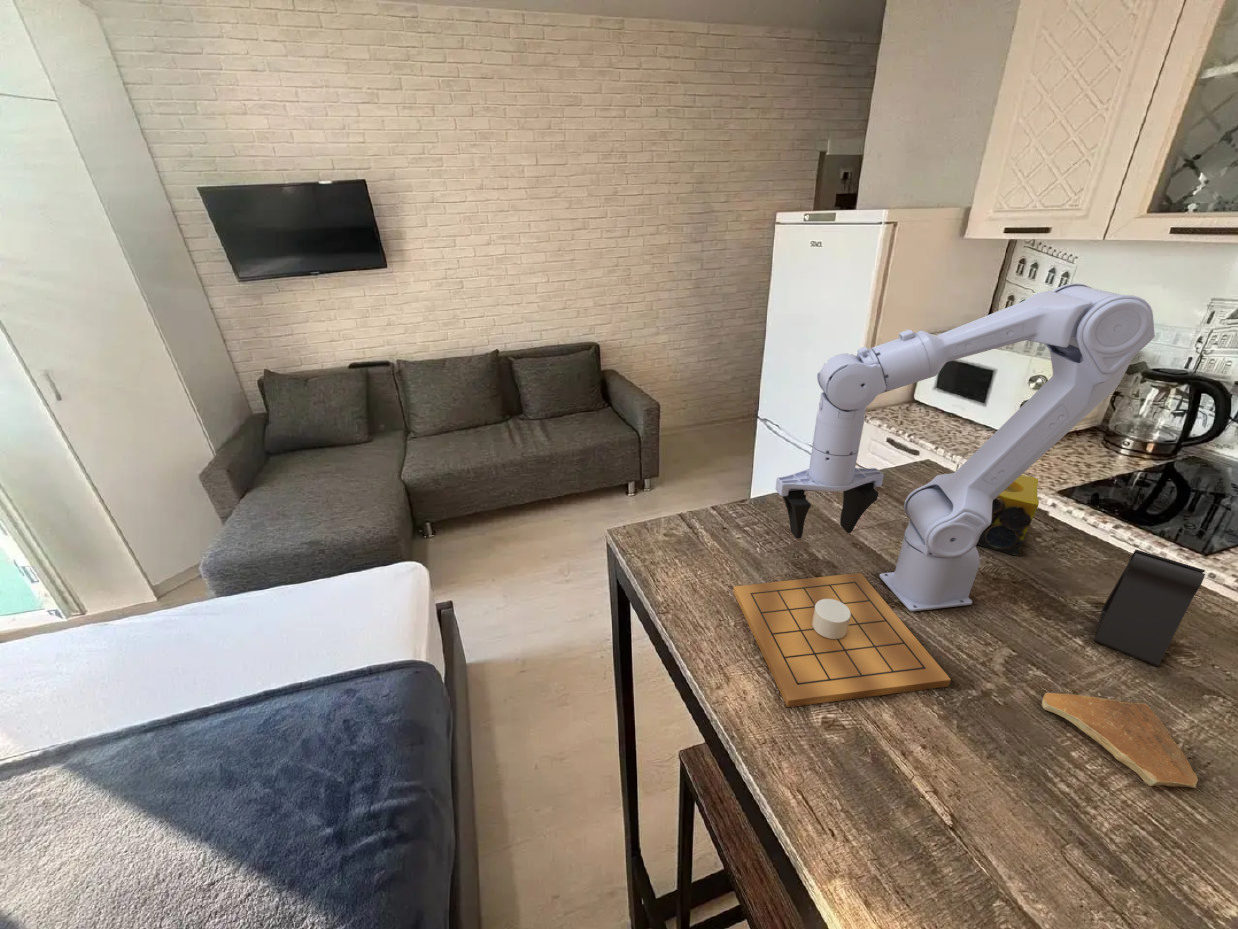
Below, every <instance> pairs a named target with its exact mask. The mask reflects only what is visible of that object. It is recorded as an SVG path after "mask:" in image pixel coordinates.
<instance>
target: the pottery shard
mask: <svg viewBox="0 0 1238 929" xmlns="http://www.w3.org/2000/svg"><path fill="white" fill-rule="evenodd" d="M1041 707H1042V709H1043V710H1044V711H1048V712H1050V713H1053V714H1055V715H1057V716H1059V717H1062V718H1064V719H1065V720H1067V721H1068V722H1070V723H1072V724H1073V726H1076V727H1077V728H1078V729H1079V730H1080V731H1082V732H1083V733H1084V734H1086V735H1087V736H1088V737H1090V738H1091V739H1092V740H1094V741H1095V742H1097V743H1098V744H1099V745H1101V747H1103V748H1104V749H1105V750H1106V751H1107V752H1109V753H1110V754H1111V755H1112V756H1113V757H1114V759H1116V760H1117V761H1118V762H1120V763H1122V764H1124V765H1125V766H1126V767H1128V768H1129V769H1130V770H1132V771H1133V772H1135V774H1137V775H1138V776H1139V778H1141V780H1143V782H1144V783H1145V784H1147V785H1148V786H1149V787H1155V786H1166V787H1184V788H1185V787H1186V788H1192V789H1196V788H1197V783H1198V781H1199V778H1198V776H1197V774H1196V773H1195V772H1194V770H1193V769H1192V765H1191V763H1190V762H1189V760H1188V758H1187V757H1186V755H1185V754H1184V753H1183V751H1182V749H1181V747H1180V746H1179V745H1178V743H1176V742H1175V740H1174V739H1173V738H1172V736H1171V734H1170V731H1169V730H1168V728H1167V727H1166V726H1165V725H1164V724H1163V722H1162V721H1161V720H1160V718H1159V717H1158V716H1157V715H1156V714H1155V712H1154V711H1153V710H1152V708H1150V706H1149V705H1148V704H1147V703H1142V702H1126V701H1125V702H1124V701H1119V700H1116V699H1109V698H1102V697H1097V696H1088V695H1081V694H1069V693H1059V692H1058V693H1057V692H1045V693H1044V695H1043V696H1042V702H1041Z"/></svg>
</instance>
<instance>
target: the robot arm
mask: <svg viewBox="0 0 1238 929" xmlns="http://www.w3.org/2000/svg"><path fill="white" fill-rule="evenodd" d="M1153 312H1154V311H1153V308H1152V307H1151V305H1150V303H1149V302H1147V300H1145V299H1144V298H1142V297H1140V296H1137V295H1131V294H1121V293H1115V292H1110V291H1106V290H1102V289H1098V288H1094V287H1091V286H1089V285H1086V284H1082V283H1067V284H1064V285H1060V286H1058V287H1056V288H1054V289H1053V290H1046V291H1039V292H1037V293H1035V294H1032V295H1031V296H1030V297H1028V298H1026V299H1025V300H1022V301H1020V302H1018V303H1016V304H1013V305H1010V306H1008V307H1005V308H1003V309H1000V310H997V311H995V312H993V313H990V314H987V315H985V316H983V317H979V318H977V319H975V320H972V321H970V322H968V323H964V324H963V325H960V326H957V327H955V328H952V329H950V330H947V331H945V332H942V333H939V334H936V335H935V334H932V333H930V332H927V331H925V330H919V331H916V332H914V331H913V330H911V329H906V330H903V331H901V332H899V333H898V338H896V339H895V338H894V339H893V340H890V341H887V342H884V343H882V344H878V345H875V346H872V347H870V348H868V347H867V346H862V347H860V348H858V349H857V351H856V352H857V353H856V354H854V353H853V354H852V353H851V354H850V353H846V352H845V353H840V354H836V355H834V356H832V357H830V358H829V359H827V362H826V363H825V362H824V363H823V365H822V367H821V368H820V370H819V372H817V375H816V379H817V383H818V386H819V388H820V389H821V390H822V392H821V393H820V399H819V403H818V410H817V413H816V418H815V425H814V430H813V438H812V439H813V440H812V446H811V454H810V460H809V466H808V469H804V470H802V471H798V472H795V473H792V474H789V475H785V476H780V477H779V476H778V477H776V480H775V481H776V482H775V491H776V492H777V493H778V495H779V496H780V497H782V499H783V501H784V505H785V507H786V510H787V515H788V519H789V527H790V528H789V530H790V532H791V534H792V535H793V536H794V538H795V539H797V540H799V539H802V536H803V534H804V527H805V521H806V517H807V515H808V513H809V510H810V508H811V506H812V504H811V503H810V501H808V500H807V494H805V492H814V491H819V492H833V493H834V492H835V493H838V492H839V493H840V492H842V493H843V494H842V496H843V498H842V507H841V513H840V518H839V519H840V522H839V526H840V527H841V528H842V529H843V530H844V532H846V534H851V533H852V532H853V531H854V529H855V527H856V525H857V524H858V522H859V520H860V518H861V517H862V515H863V514H864V513H865V511H867V509H868V508H870V506H872V504H874V503H875V502H876V501H877V500H878V499H879V492H878V491H877V490H876V489H875V488H881V487H882V486H883V482H884V477H885V473H884V472H882V471H881V470H879V469H878V468H877V467H871V468H866V467H865V468H864V467H863V468H862V467H857V461H858V456H859V451H860V445H861V440H862V436H863V430H864V425H865V420H866V418H865V417H866V416H865V415H866V412H867V411H866V410H867V407H868V406H869V405H871V404H872V402H874V400H875V399H876V398H877V397H878V396H879V395H882V394H884V393H887V392H890V391H893V390H896V389H897V390H898V389H900V388H903V387H906V386H909V385H913V384H916V383H918V382H921V381H925V380H927V379H931V378H935V377H936V376H938V374H939V373H940V372H941V371H942V369H943V367H944V366H945V365H946V363H948V362H949V363H950V362H952V361H956V360H959V359H963V358H967V357H970V356H974V355H977V354H981V353H985V352H988V351H992V350H994V349H998V348H1002V347H1006V346H1009V345H1013V344H1017V343H1020V342H1024V341H1029V342H1034V343H1039V344H1045V346H1046V348H1047V349H1048V351H1049V355H1050V363H1051V369H1052V376H1051V377H1050V378H1049V379H1048V380H1047V381H1046V382H1045V383H1044V384H1043V385H1042V386H1041V387H1039V389H1038V390H1037V391H1035V393H1034V394H1032V395H1031V397H1029V399H1028V400H1027V401H1025V403H1023V405H1022V406H1020V407H1019V408H1018V410H1016V412H1014V413H1013V415H1012V416H1011V417H1009V418H1008V419H1007V420H1006V421H1005V422H1004V423H1003V424H1002V425H1001V426H1000V427H999V429H996V431H995V432H994V433H993V434H992V435H991V436H990V437H988V439H987V440H986V441H985V442H984V443H983V444H982V445H981V446H980V447H979V448H978V449H977V450H976V451H975V452H974V453H973V454H972V455H971V456H970V457H969V458H968V459H967V460H966V461H965V462H964V463H963V464H962V465H961V466H959V468H958V469H957V470H956V471H954V472H951V473H943V474H937V475H935V477H933V478H932V479H931V480H930V481H929V482H927V483H926V484H924V485H922V486H919V487H917V488H915V489H914V490H912V491H911V492H910V493H909V494H908V495H907V496H906V498H905V500H904V504H903V509H904V513H905V514H906V516H907V517H908V518H909V520H908V523H907V527H906V529H905V531H904V535H903V537H902V538H903V539H902V542H901V546H900V550H899V554H898V558H897V561H896V566H895V569H894V571H891V572H882V573H879V576H878V577H879V578H880V579H881V581H882V582H883V583H884V584H885V585H886V586H887V587H888V589H889V590H890V591H891V592H892V593H893V594H894V595H895V597H897V598H898V600H899V601H900V602H901V603H902V604H903V606H905V607H906V609H907V610H908V611H910V612H918V611H919V612H920V611H929V610H937V609H945V608H947V609H948V608H952V607H962V606H971V605H972V604H973V600H972V599H971V598H970V597H969V596H970V595H971V591H972V588H973V586H974V582H975V580H976V576H977V574H978V571H979V568H980V563H981V562H980V560H981V559H980V554H979V550H978V549H977V547H976V546H977V545H976V544H977V543H978V540H979V538H980V535H981V534H982V532H983V531H984V530H985V529H986V528H987V527H988V526H989V525H990V524H991V520H992V503H993V500H994V499H995V498H996V497H997V496H998V495H1000V494H1001V493H1002V492H1003V491H1004V490H1005V489H1006V488H1007V487H1008V486H1009V485H1011V484H1012V483H1013V482H1014V481H1015V480H1016V479H1017V478H1018V477H1019V476H1020V475H1023V474H1024V473H1025V472H1026V471H1028V469H1029V468H1031V467H1032V466H1033V465H1034V464H1035V463H1036V462H1037V461H1039V459H1041V458H1042V457H1043V456H1044V455H1045V454H1046V453H1047V452H1048V451H1049V450H1050V449H1051V448H1053V447H1054V446H1055V445H1056V444H1057V443H1059V441H1061V440H1062V439H1063V437H1065V436H1066V435H1067V434H1068V433H1069V432H1070V431H1071V430H1072V429H1073V428H1075V427H1076V426H1077V425H1078V424H1079V423H1080V422H1081V421H1082V420H1083V419H1084V418H1085V417H1087V416H1088V415H1089V414H1090V413H1091V412H1092V411H1093V410H1094V409H1096V408H1097V407H1098V406H1099V405H1100V404H1101V403H1102V402H1103V401H1104V400H1106V399H1107V398H1108V397H1109V396H1110V395H1111V394H1112V393H1113V392H1114V391H1115V390H1116V389H1117V388H1118V386H1119V385H1120V384H1121V382H1122V380H1123V378H1124V376H1125V374H1126V372H1127V370H1128V368H1129V366H1130V365H1131V363H1132V360H1133V358H1134V357H1135V356H1136V355H1137V354H1138V353H1139V352H1141V351H1142V350H1143V349H1144V348H1145V347H1146V346H1147V345H1148V344H1149V343H1151V341H1153V340H1154V339H1155V337H1156V335H1155V334H1156V333H1155V323H1154V322H1155V321H1154V313H1153Z"/></svg>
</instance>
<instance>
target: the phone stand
mask: <svg viewBox="0 0 1238 929" xmlns="http://www.w3.org/2000/svg"><path fill="white" fill-rule="evenodd" d="M1205 576H1206V569H1203V568H1200V567H1196V566H1193V565H1189V564H1186V563H1184V562H1180V561H1176V560H1173V559H1170V558H1166V557H1163V556H1159V555H1156V554H1152V553H1151V552H1146V551H1143V550H1139V549H1135V550H1134V552H1133V553H1132V555H1131V557H1130V559H1129V560H1128V563H1127V564H1126V566H1125V568H1124V570H1123V571H1122V573H1121V574H1120V577H1119V579H1118V580H1117V582H1116V583H1115V585H1114V587H1113V589H1112V590H1111V592H1110V593H1109V595H1108V597H1107V598H1106V600H1105V602H1104V603H1103V606H1102V609H1101V613H1100V616H1099V620H1098V624H1097V628H1096V630H1095V631H1096V632H1095V635H1094V638H1093V639H1094V640H1093V641H1094V642H1096V643H1098V644H1100V645H1103V646H1105V647H1108V648H1110V649H1112V650H1115V651H1118V652H1120V653H1122V654H1125V655H1128V656H1130V657H1133V658H1135V659H1137V660H1140V661H1142V662H1145V663H1148V664H1150V665H1153V666H1155V667H1159V666H1160V664H1161V663H1162V661H1163V658H1164V657H1165V654H1166V652H1167V649H1168V648H1169V646H1170V644H1171V642H1172V640H1173V638H1174V636H1175V635H1176V632H1177V630H1178V629H1179V627H1180V624H1181V622H1182V621H1183V619H1184V616H1185V614H1186V613H1187V610H1188V608H1189V607H1190V605H1191V603H1192V601H1193V598H1194V597H1195V595H1196V594H1197V592H1198V591H1199V590H1200V588H1201V586H1202V583H1203V582H1204V579H1205Z"/></svg>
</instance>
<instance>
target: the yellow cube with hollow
mask: <svg viewBox="0 0 1238 929" xmlns="http://www.w3.org/2000/svg"><path fill="white" fill-rule="evenodd" d="M1038 486H1039V478H1037V477H1034V476H1029V475H1023V474H1022V475H1020V476H1019V477H1018V478H1017V479H1016V480H1015V481H1014V482H1013V483H1012V484H1011V485H1009V486H1008V487H1007V488H1006V489H1005V490H1004V491H1003V492H1002V493H1001V494H1000V495H998V496H997V497H996V498H995V499H994V500H993V503H992V520H991V524H990V525H989V526H988V527H987V528H986V529H985V530H984V531H983V532H982V534H981V535H980V538H979V540H978V543H977V544H976V546H980V547H984V548H988V549H991V550H994V551H1000V552H1003V553H1006V554H1009V555H1013V556H1017V555H1019V554H1020V551H1021V548H1022V547H1023V544H1024V541H1025V536H1026V534H1027V532H1028V530H1029V527H1030V525H1031V523H1032V521H1033V519H1034V517H1035V515H1036V512H1037V509H1038V507H1039V504H1040V500H1039V495H1038Z"/></svg>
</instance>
